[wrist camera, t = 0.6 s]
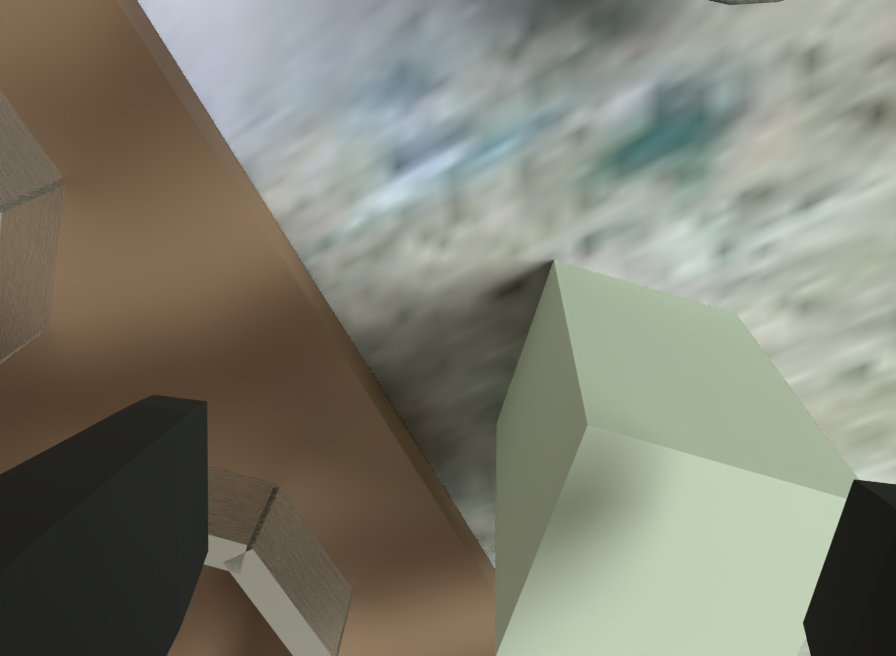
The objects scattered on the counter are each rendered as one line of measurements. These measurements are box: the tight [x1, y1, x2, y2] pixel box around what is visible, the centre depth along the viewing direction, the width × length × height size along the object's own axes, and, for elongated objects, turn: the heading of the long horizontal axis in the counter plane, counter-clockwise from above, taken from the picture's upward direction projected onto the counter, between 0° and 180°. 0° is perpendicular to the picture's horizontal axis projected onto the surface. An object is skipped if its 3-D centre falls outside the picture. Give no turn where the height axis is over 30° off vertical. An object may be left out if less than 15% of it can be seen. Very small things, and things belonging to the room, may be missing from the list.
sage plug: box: [495, 260, 859, 656], centre depth 17 cm, size 4×4×8 cm
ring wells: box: [0, 89, 353, 656], centre depth 19 cm, size 21×9×2 cm, turn 29°
